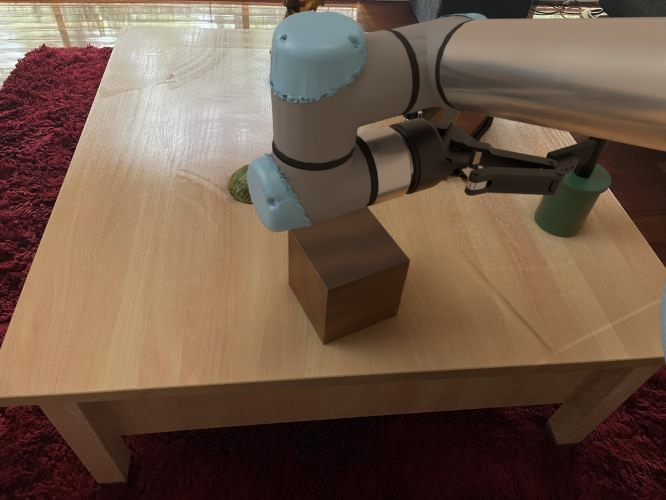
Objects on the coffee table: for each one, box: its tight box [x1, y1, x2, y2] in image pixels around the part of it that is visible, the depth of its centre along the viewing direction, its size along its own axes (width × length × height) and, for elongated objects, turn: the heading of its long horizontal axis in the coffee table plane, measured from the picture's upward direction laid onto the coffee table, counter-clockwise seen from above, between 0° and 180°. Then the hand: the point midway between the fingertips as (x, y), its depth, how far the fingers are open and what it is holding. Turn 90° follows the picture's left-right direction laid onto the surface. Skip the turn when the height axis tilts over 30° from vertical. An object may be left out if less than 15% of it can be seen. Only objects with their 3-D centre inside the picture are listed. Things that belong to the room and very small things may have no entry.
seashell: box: [227, 163, 253, 204], centre depth 93 cm, size 10×4×10 cm
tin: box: [534, 185, 601, 238], centre depth 89 cm, size 8×8×10 cm
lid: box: [561, 136, 612, 195], centre depth 82 cm, size 9×9×10 cm
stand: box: [287, 207, 411, 345], centre depth 74 cm, size 12×12×12 cm
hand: (547, 119), depth 62 cm, fingers open, 13 cm apart
